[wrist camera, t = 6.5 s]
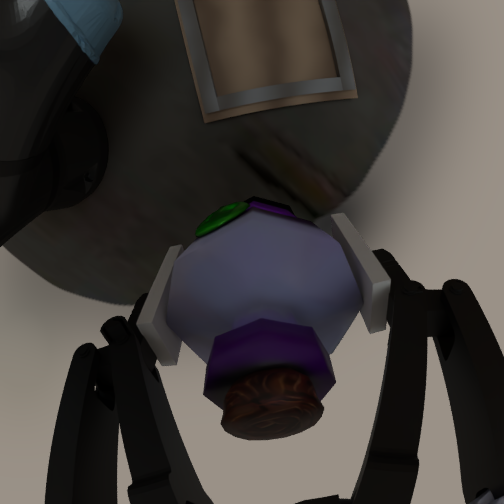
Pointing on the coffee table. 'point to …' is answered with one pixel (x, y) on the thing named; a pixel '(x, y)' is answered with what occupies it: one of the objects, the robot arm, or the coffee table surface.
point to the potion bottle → (263, 315)
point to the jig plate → (265, 54)
